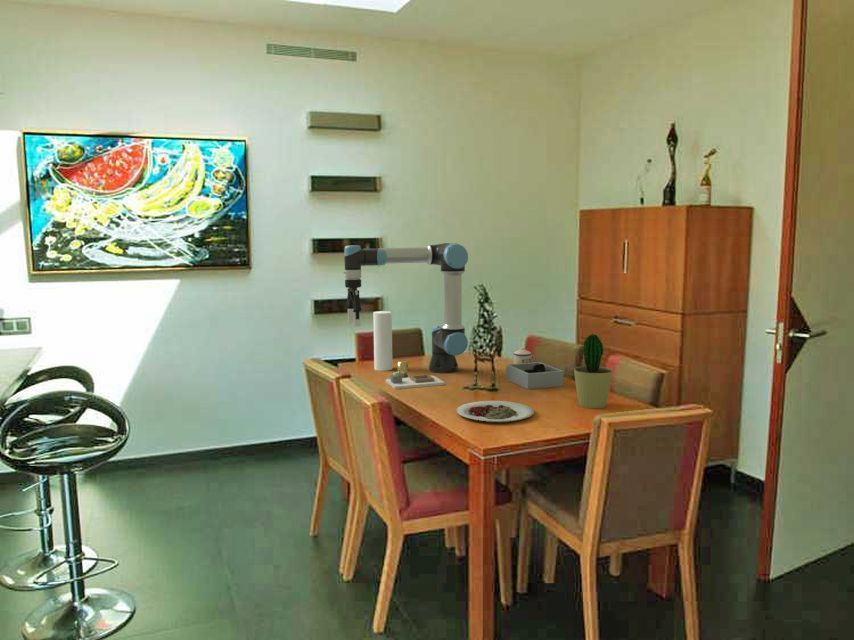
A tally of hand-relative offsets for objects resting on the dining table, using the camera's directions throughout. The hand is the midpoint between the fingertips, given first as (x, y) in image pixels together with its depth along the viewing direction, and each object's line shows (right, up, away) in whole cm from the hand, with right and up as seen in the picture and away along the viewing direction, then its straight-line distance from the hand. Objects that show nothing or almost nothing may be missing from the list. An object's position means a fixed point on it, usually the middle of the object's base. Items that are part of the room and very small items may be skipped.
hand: (354, 324), depth 330 cm
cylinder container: (+11, -23, +36) cm, 44 cm away
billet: (+22, -26, +13) cm, 37 cm away
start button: (+20, -25, -1) cm, 32 cm away
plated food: (+61, -35, -53) cm, 88 cm away
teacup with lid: (+84, -24, +31) cm, 92 cm away
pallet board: (+28, -28, +2) cm, 40 cm away
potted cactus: (+102, -33, -41) cm, 114 cm away
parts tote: (+84, -27, +2) cm, 89 cm away
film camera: (+85, -28, +2) cm, 89 cm away
